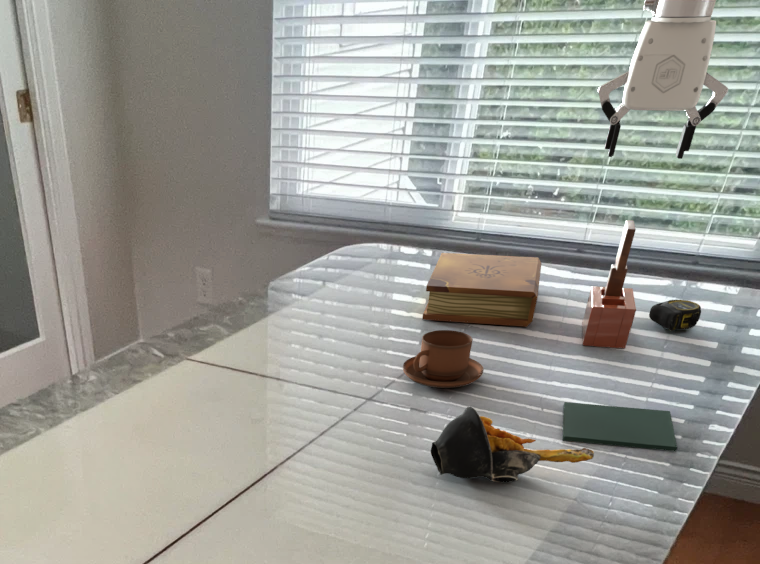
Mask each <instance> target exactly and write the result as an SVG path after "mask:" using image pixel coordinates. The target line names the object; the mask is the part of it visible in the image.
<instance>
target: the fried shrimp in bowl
mask: <svg viewBox="0 0 760 564" xmlns="http://www.w3.org/2000/svg"><path fill="white" fill-rule="evenodd" d="M493 421H494V420H493V419H491V418H489V417H486V416H484V415H479V413H478V412H477V410H476V409H475V408H473V406H471V405H469V406H466V407H465V409H464V410H463V412H462V413H461V414H459V415H457V416H456V417H454V419H451V421H449V422H448V423H447V424H446V426H445V428H443V429H442V431H441V433H440V435H439V436H438V438H437V439H436V440H434V441H433V442H432V443H431V447H430V455H431V458H432V460H433V462H434V464H435V466H436V468H437V471H438V473H439V475H440V476H442V475H446V474H448V475H452V476H454V477H457V478H460V479H476V478H485V479H487V480H488V481H491V482H495V483H512V482H515V481H517V480H518V478H519V477H518V476H519V475H522V474H525V473H527V472H530V470H531V469H533V468H534V466H535V465H537V464H538V462H551V463H564V462H570V463H571V464H575V463H580V462H587V461H590V460H593V458H594V456H595V451H594V450H593V449H589V448H586V447H583V448H581V449H576V448H575V449H571V448H569V449H562V448H561V449H528V448H525V447H524V445H525V444H532V443H534V442H536V439H533V438H530V437H529V438H521V437H520V436H518V435H514V434H512V433H510V432H507V431H506V430H502V429H500V428H496V427H494V426H493V424H494V423H493Z"/></svg>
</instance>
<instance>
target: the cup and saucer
mask: <svg viewBox="0 0 760 564" xmlns="http://www.w3.org/2000/svg"><path fill="white" fill-rule="evenodd" d="M472 345H473V337H472V336H471V335H470V334H468V333H466V332H462V331H460V330H459V331H458V330H452V329H438V330H432V331H429V332H425V333H424V334H423V335H422V337H421V344H420V352H418V353H417V354H416V355H415V356H412V357H409V358H408V359H406V360H405V361H404V362H403V364H402V371H403V373H404V374H405V375H406V376H407V378H408V379H410V380H411V381H412V382H415V383H417V384H419V385H422V386H426V387H431V388H438V389H439V388H441V389H452V388H461V387H464V386H468V385H471V384H473V383H475V382H476V381H477V380H478V379H480V378H481V377H482V376H483V374H484V369H485V368H484V366H483V365H482V364H481V363H480V362H479V361H477V360H475V359H473V358H471V357H470V356H471V350H472Z"/></svg>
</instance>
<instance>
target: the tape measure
mask: <svg viewBox="0 0 760 564" xmlns="http://www.w3.org/2000/svg"><path fill="white" fill-rule="evenodd" d="M701 308H702V307H701V305H700V304H699V303H697V302H695V301H691V300H688V299H687V300H686V299H667V300H666V301H662V302H659V303H655V304H654V305H652V306H651V307H650V310H649V312H648V313H649V314H648V318H649V319H650V320H651V321H653V323H656V324H657V325H659V326H661V327H662V328H663V329H667V330H669V331H670V332H671V331H672V332H673V331H677V330H689V329H692V328H694V327H695V326H696V325H697V323H698V322H699V321H700V318H701V314H702V309H701Z"/></svg>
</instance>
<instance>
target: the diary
mask: <svg viewBox="0 0 760 564" xmlns="http://www.w3.org/2000/svg"><path fill="white" fill-rule="evenodd" d="M541 270H542V262H541V260H540V258H539V257H536V256H535V257H533V256H517V255H495V254H494V255H493V254H473V253H456V252H455V253H454V252H453V253H452V252H451V253H450V252H441V253H440V256H439V257H438V260H437V262H436V264H435V266H434V268H433V271H432V273H431V275H430V278H429V280H428V282H427V284H426V288H425V292H429V294H428V300H427V301H428V302H427V304H426V306H425V309H424V310H423V313H422V320H423V321H439V322H450V323H451V322H452V323H465V324H466V323H467V324H480V325H481V324H483V325H495V326H496V325H498V326H509V327H510V326H511V327H528V326H529V325H530V324H531V323H533V321H534V315H535V313H536V307H537V302H538V297H539V288H540V279H541V272H542V271H541Z"/></svg>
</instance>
